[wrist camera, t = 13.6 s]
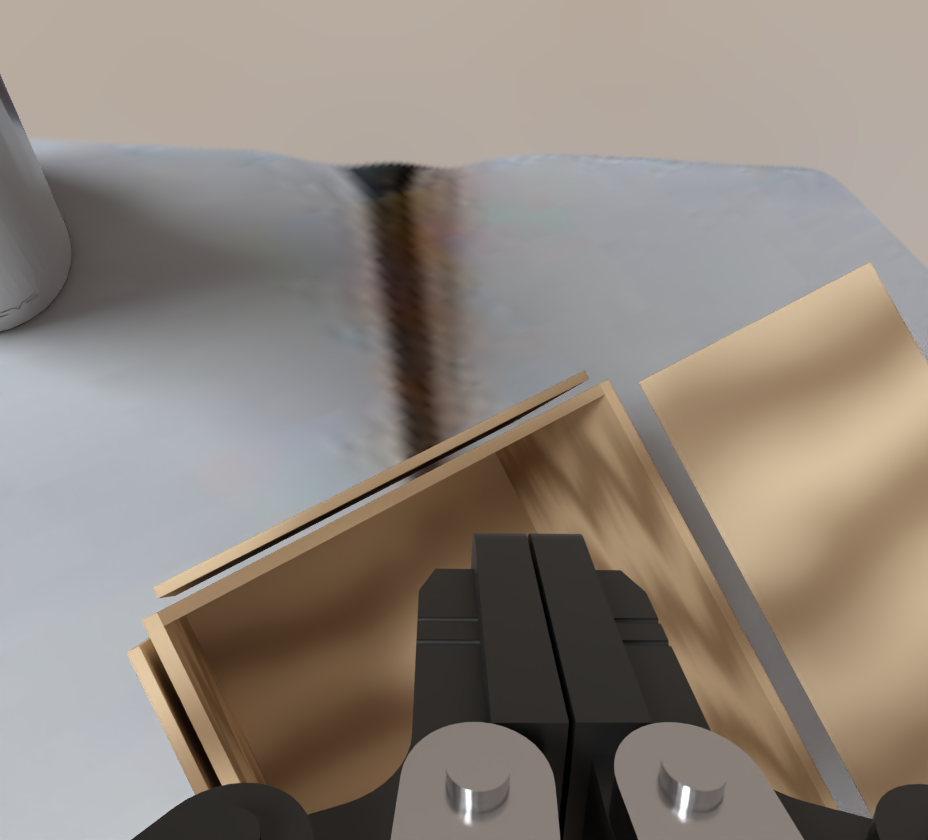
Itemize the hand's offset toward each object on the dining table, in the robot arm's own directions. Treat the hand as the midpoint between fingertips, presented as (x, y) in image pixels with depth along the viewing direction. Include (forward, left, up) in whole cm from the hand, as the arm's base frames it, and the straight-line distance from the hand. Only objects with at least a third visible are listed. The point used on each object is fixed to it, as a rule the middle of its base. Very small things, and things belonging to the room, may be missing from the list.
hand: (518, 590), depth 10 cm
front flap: (+9, +19, -13) cm, 24 cm away
